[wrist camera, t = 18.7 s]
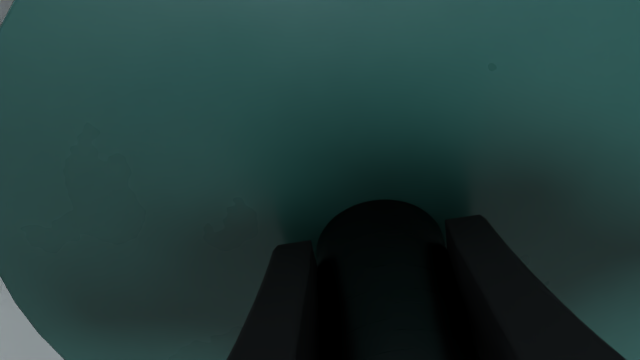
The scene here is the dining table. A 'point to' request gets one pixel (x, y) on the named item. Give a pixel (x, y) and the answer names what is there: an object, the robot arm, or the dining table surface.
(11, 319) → the dining table surface
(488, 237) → the robot arm
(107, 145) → the tin lid
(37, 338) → the dining table surface
